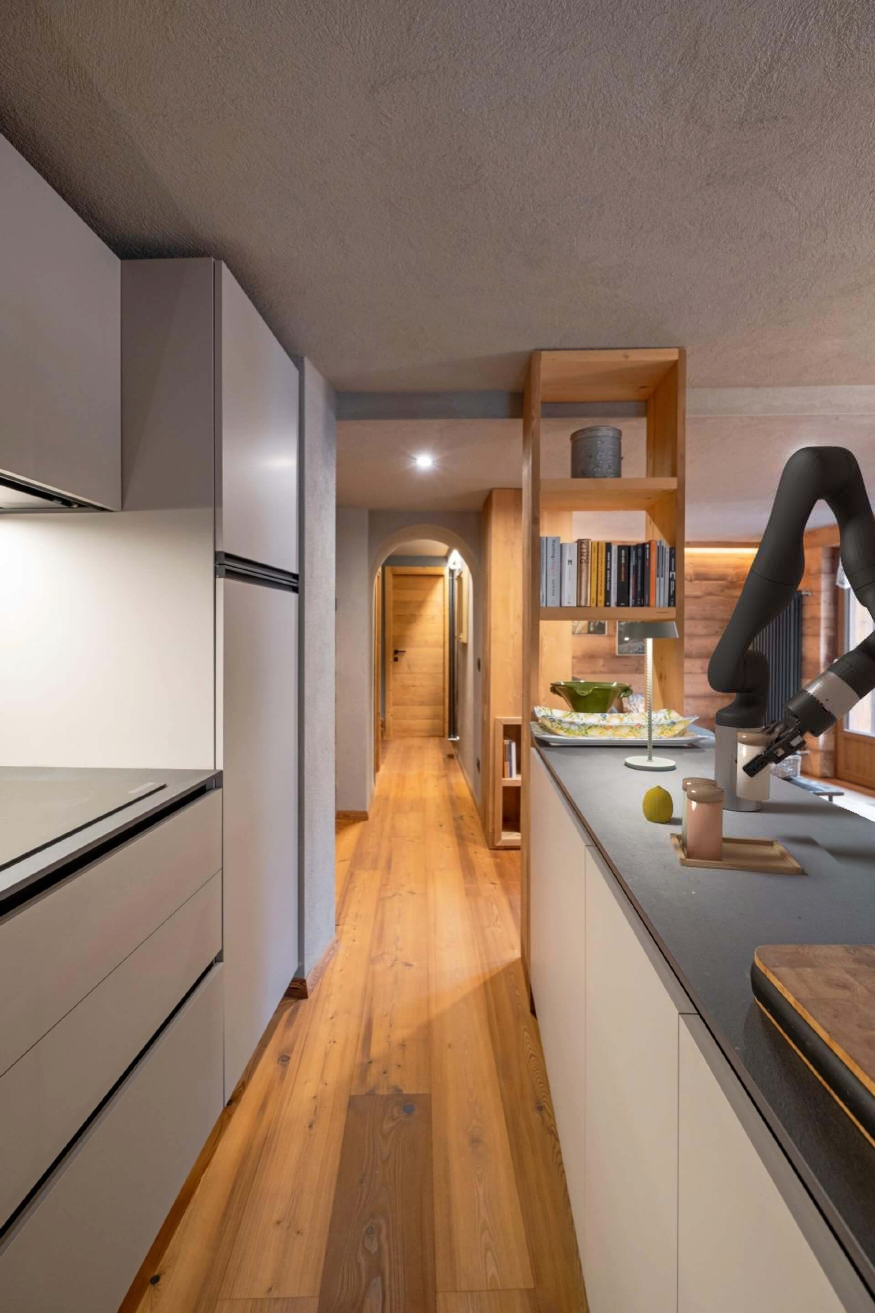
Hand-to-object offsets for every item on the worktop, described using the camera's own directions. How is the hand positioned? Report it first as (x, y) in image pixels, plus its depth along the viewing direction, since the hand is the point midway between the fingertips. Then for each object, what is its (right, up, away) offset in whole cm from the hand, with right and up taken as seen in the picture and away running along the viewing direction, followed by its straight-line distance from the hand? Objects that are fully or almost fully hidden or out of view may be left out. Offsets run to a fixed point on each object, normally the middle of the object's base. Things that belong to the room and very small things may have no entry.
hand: (742, 769), depth 117 cm
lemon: (-12, -13, +10) cm, 20 cm away
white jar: (+2, -5, 0) cm, 5 cm away
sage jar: (-10, -12, -6) cm, 17 cm away
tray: (-6, -14, -10) cm, 18 cm away
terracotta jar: (-11, -12, -11) cm, 20 cm away
